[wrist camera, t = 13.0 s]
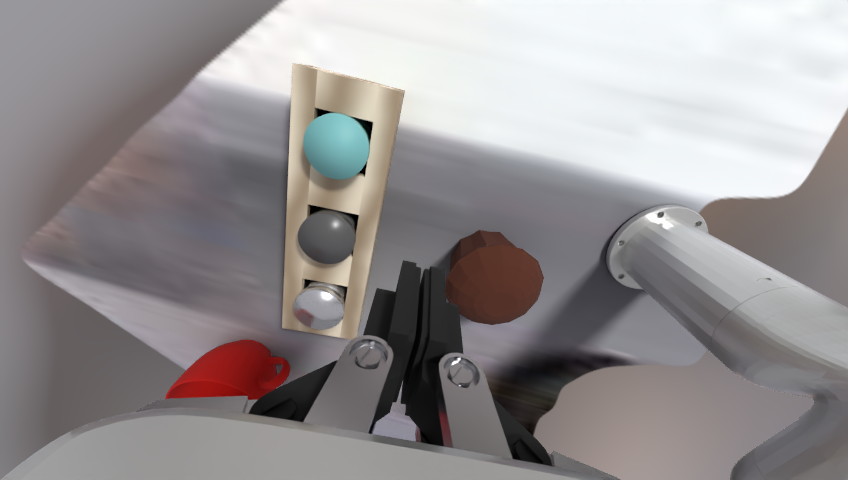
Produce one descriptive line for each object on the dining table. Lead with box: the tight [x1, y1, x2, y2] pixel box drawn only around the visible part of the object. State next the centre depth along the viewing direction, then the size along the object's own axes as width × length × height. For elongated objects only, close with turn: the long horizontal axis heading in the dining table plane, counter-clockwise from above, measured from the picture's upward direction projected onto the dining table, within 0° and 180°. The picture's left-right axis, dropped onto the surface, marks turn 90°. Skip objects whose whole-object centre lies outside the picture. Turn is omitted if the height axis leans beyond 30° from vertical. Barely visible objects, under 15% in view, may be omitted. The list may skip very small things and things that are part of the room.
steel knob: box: [293, 280, 348, 330], centre depth 41 cm, size 6×6×6 cm
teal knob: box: [303, 113, 371, 180], centre depth 32 cm, size 6×6×6 cm
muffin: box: [446, 230, 544, 325], centre depth 39 cm, size 12×11×10 cm
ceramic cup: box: [165, 340, 290, 400], centre depth 46 cm, size 13×17×10 cm
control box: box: [282, 63, 405, 340], centre depth 37 cm, size 10×32×5 cm, turn 166°
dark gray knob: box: [298, 207, 359, 264], centre depth 36 cm, size 6×6×6 cm
